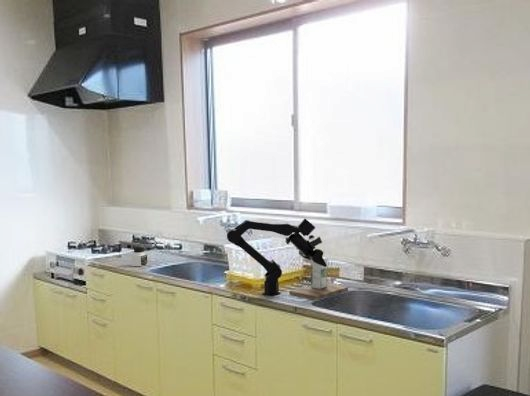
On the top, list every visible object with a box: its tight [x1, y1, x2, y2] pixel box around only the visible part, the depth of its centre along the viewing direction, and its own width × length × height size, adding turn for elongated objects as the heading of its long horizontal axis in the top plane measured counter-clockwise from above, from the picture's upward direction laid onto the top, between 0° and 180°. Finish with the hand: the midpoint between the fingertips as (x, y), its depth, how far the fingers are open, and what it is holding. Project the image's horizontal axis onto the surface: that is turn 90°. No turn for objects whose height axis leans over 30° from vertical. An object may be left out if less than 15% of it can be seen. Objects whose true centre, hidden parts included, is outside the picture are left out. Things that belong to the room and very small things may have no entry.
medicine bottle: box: [130, 245, 148, 267], centre depth 329 cm, size 7×7×12 cm
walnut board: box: [289, 282, 349, 301], centre depth 253 cm, size 24×16×2 cm, turn 134°
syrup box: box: [310, 256, 328, 289], centre depth 255 cm, size 6×6×14 cm
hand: (322, 264), depth 256 cm, fingers open, 9 cm apart
